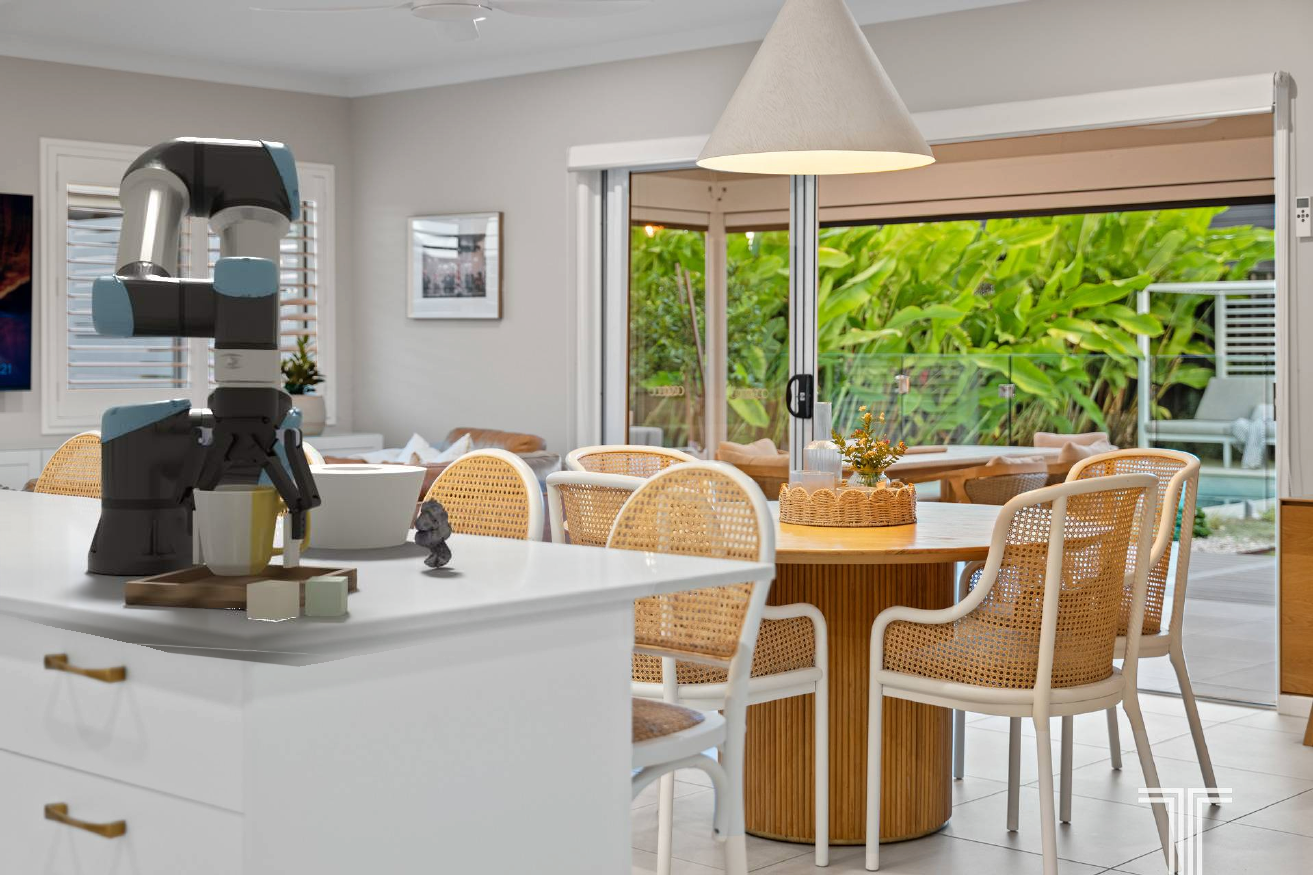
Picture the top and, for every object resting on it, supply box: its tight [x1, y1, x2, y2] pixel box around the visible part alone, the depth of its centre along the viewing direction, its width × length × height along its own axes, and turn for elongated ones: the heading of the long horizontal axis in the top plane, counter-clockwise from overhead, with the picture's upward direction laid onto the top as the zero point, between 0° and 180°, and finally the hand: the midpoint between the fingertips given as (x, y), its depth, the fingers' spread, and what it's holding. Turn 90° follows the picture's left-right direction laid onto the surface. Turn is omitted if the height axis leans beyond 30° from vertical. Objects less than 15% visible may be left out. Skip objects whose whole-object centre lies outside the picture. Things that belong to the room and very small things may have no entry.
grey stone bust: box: [413, 496, 453, 569], centre depth 204 cm, size 5×5×10 cm
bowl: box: [286, 463, 428, 550], centre depth 233 cm, size 24×24×12 cm
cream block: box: [246, 580, 300, 621], centre depth 160 cm, size 4×4×4 cm
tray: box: [124, 563, 358, 610], centre depth 176 cm, size 20×20×2 cm
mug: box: [193, 485, 311, 576], centre depth 176 cm, size 14×10×10 cm
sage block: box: [304, 576, 349, 617], centre depth 164 cm, size 4×4×4 cm
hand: (246, 564), depth 176 cm, fingers closed on mug, 11 cm apart
